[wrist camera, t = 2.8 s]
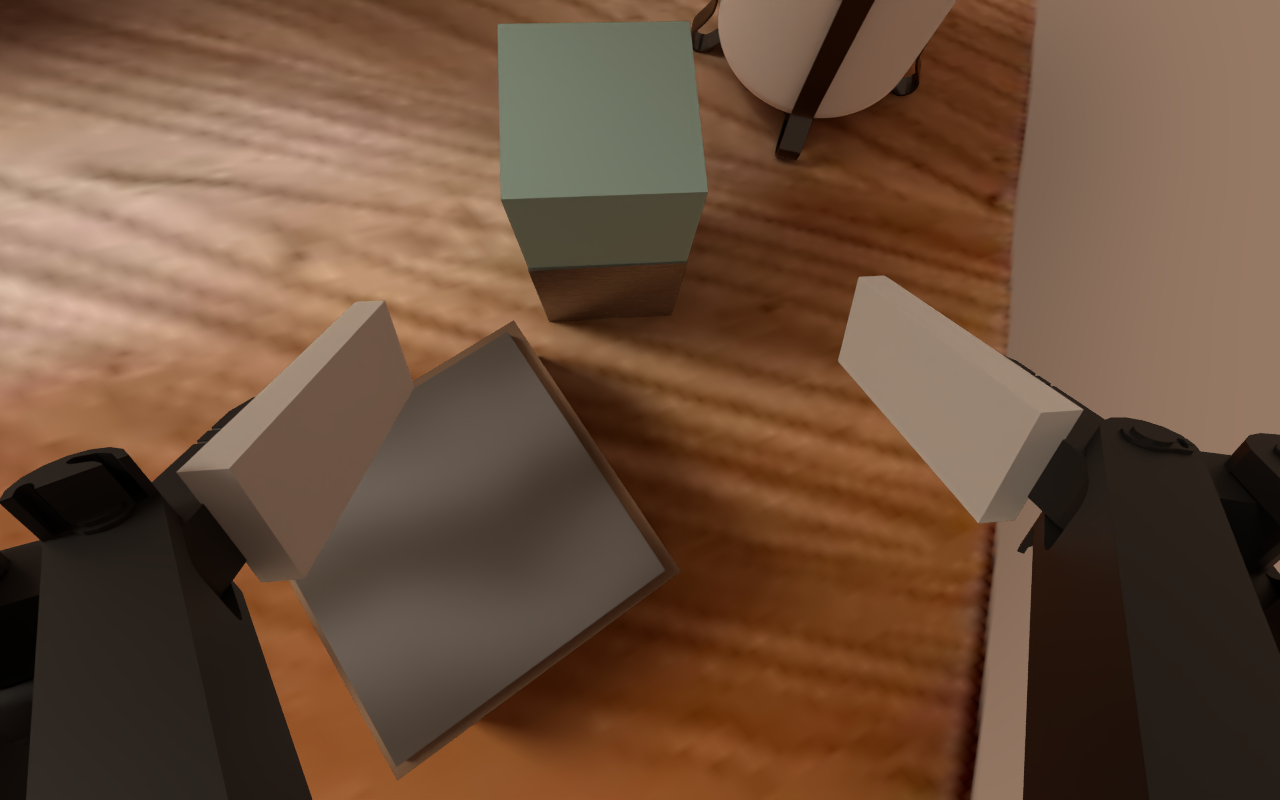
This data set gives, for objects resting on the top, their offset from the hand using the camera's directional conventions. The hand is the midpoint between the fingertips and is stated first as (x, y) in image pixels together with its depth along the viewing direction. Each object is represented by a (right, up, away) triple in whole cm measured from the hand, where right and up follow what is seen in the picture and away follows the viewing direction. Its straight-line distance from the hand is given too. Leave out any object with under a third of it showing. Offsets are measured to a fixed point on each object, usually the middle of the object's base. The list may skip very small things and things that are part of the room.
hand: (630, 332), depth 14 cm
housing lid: (-1, +7, +8) cm, 11 cm away
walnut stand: (-7, -8, +11) cm, 16 cm away
